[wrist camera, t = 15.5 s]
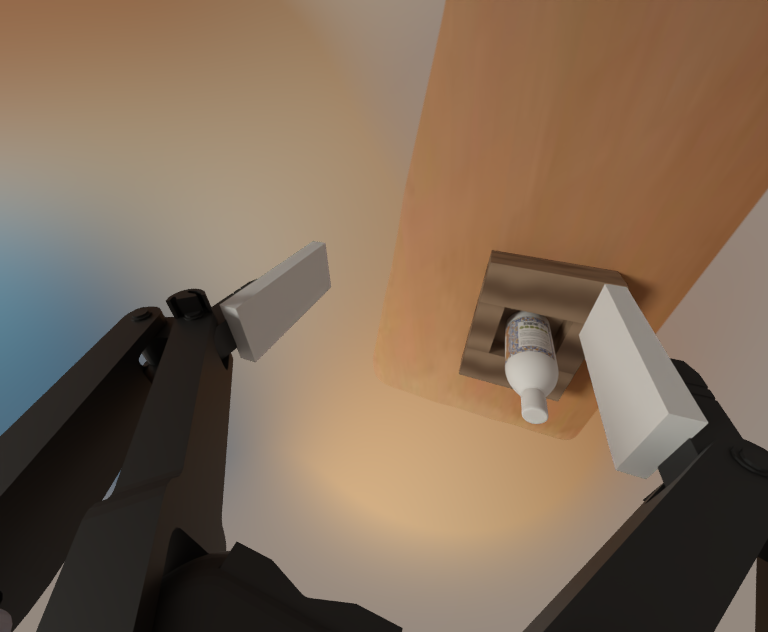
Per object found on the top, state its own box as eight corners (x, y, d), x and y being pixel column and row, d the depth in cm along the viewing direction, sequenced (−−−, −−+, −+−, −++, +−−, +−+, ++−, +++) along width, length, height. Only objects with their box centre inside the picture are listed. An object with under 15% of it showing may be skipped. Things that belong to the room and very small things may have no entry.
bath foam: (500, 313, 52) (497, 398, 36) (544, 304, 48) (561, 394, 33) (510, 343, 54) (512, 435, 39) (552, 337, 51) (572, 435, 35)
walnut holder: (491, 250, 47) (490, 262, 43) (617, 271, 43) (628, 286, 39) (461, 357, 61) (458, 374, 57) (554, 381, 57) (558, 401, 53)
